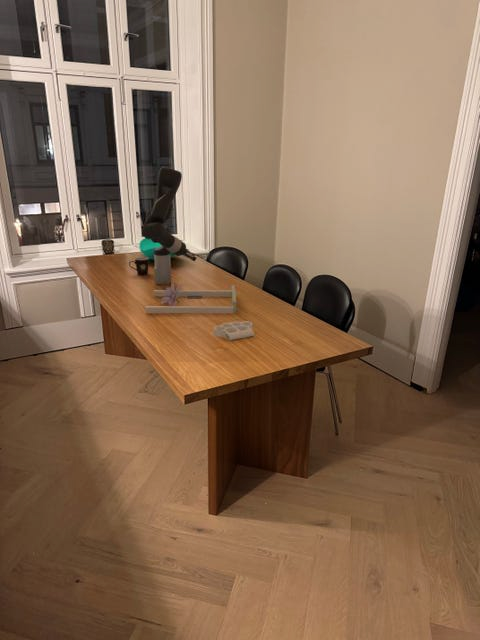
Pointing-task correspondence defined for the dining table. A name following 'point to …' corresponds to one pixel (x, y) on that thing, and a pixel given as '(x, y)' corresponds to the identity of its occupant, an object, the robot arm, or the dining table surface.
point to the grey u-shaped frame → (196, 308)
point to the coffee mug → (141, 265)
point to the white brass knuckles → (234, 330)
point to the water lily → (170, 295)
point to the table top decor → (150, 248)
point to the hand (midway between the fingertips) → (194, 259)
